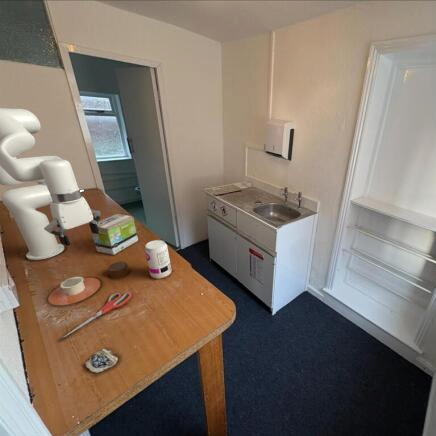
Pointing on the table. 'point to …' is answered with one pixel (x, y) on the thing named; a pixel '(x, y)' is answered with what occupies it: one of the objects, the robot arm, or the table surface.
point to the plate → (62, 299)
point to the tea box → (115, 234)
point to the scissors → (107, 307)
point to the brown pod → (118, 269)
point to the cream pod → (73, 286)
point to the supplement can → (158, 259)
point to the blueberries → (101, 361)
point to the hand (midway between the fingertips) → (81, 238)
